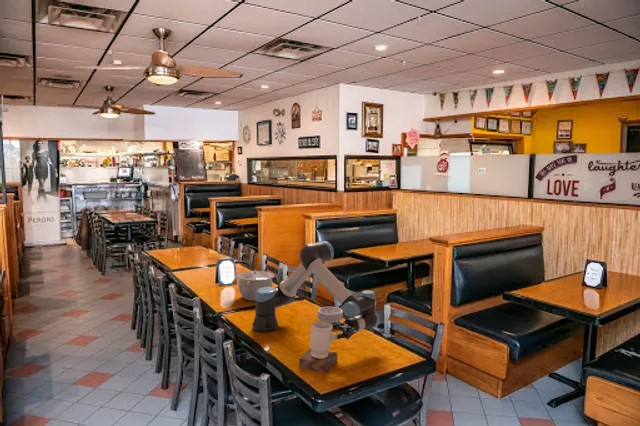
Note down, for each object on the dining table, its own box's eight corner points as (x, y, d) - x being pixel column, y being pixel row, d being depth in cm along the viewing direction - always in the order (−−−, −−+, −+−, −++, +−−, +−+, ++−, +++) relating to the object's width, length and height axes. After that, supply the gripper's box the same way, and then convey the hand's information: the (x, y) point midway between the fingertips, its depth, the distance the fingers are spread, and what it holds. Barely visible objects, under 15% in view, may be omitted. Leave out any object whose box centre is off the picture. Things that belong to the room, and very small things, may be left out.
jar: (328, 361, 211) (331, 330, 210) (306, 358, 213) (309, 327, 211) (331, 352, 222) (334, 322, 220) (311, 349, 223) (313, 320, 222)
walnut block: (299, 368, 214) (299, 358, 214) (310, 357, 227) (310, 347, 227) (326, 374, 209) (327, 363, 209) (337, 362, 222) (337, 352, 222)
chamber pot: (261, 291, 345) (261, 264, 343) (282, 299, 324) (282, 270, 322) (228, 297, 327) (228, 269, 325) (248, 306, 306) (247, 276, 304)
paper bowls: (334, 329, 266) (334, 315, 265) (313, 324, 274) (313, 311, 273) (347, 321, 279) (347, 309, 278) (326, 317, 287) (326, 304, 286)
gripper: (371, 339, 221) (338, 349, 208) (338, 325, 241) (306, 333, 228) (371, 324, 221) (339, 333, 207) (338, 311, 240) (306, 319, 227)
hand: (321, 334), depth 217 cm, fingers open, 13 cm apart
